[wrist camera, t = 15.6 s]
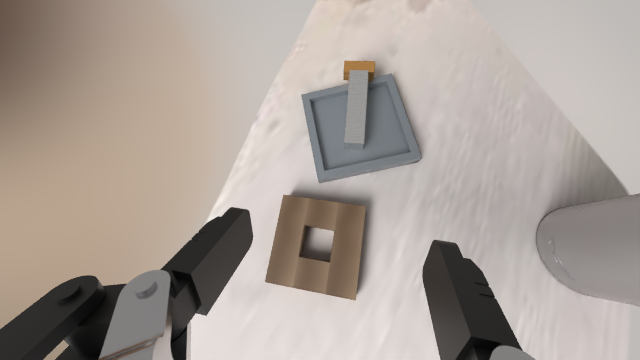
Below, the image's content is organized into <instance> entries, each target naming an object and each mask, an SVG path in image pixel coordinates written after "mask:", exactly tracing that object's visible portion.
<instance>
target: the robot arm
mask: <svg viewBox="0 0 640 360" xmlns="http://www.w3.org/2000/svg"><path fill="white" fill-rule="evenodd" d="M252 240H253V232H252V225H251V219H250V213H249V211H248V210H247V209H240V208H234V207H231V208H229V209H228V210H227V211H226V212H225V214H224V215H223V216H222V217H219V216H218V217H216V218H215V219H213V220H211V221H209V222H208V223H206V224H205V225H204V226H203V227H202V229H200V230H199V233H197V234H196V235H195V236H194V237H193V238H192V240H190V241H189V242H188V243H187V244H186V245H185V246H184V247H183V248H182V249H181V250H180V251H179V252H178V253H177V254H176V255H175V256H174V257H173V258H172V259H171V260H170V261H169V262H168V263H167V264H166V265H165V266H164V267H163V268H162V269H160V270H153V271H149V272H146V273H143V274H141V275H139V276H137V277H136V278H134V279H133V280H131V281H130V282H129V283H128V284H118V285H108V286H102V285H101V283H100V282H99V280H98V279H97V278H96V277H95V276H80V277H77V278H74V279H71V280H68V281H67V282H64V283H62V284H60V285H59V286H57V287H55V288H54V289H52V290H51V291H50V292H48V293H47V294H46V295H45V296H43V297H42V298H40V299H39V300H38V301H37V302H35V303H34V304H33V305H32V306H30V307H29V308H27V309H26V310H25V311H24V312H22V313H21V314H20V315H19V316H17V317H16V318H15V319H13V320H12V321H11V322H9V323H8V324H7V325H5V326H4V327H3V328H1V329H0V360H43V359H44V358H45V357H46V356H47V355H48V354H49V353H50V352H51V351H52V350H53V349H54V348H55V347H56V346H57V345H58V344H60V343H61V342H62V341H63V340H65V341H66V343H67V344H69V346H68V347H67V348H66V349H65V350H64V351H63V352H62V353H61V354H60V355H59V356H58V357H57V358H56V359H55V360H190V353H191V322H190V320H191V319H192V318H193V316H194V315H195V313H198V314H202V315H206V316H207V314H208V312H209V311H210V309H211V308H212V306H213V305H214V303H215V301H216V300H217V298H218V297H219V295H220V294H221V292H222V291H223V289H224V287H225V286H226V284H227V283H228V281H229V280H230V278H231V277H232V275H233V273H234V272H235V270H236V269H237V267H238V266H239V264H240V263H241V261H242V259H243V258H244V256H245V255H246V253H247V252H248V250H249V248H250V247H251V244H252ZM536 240H537V248H538V251H539V254H540V257H541V259H542V261H543V262H544V264H545V266H546V267H547V269H548V270H549V271H550V272H551V273H552V275H553V276H554V277H555V278H557V279H558V280H559V281H560V282H561V283H562V284H564V285H566V286H567V287H569V288H570V289H572V290H574V291H576V292H579V293H581V294H584V295H588V296H592V297H597V298H602V299H607V300H612V301H617V302H622V303H627V304H632V305H636V306H640V194H635V195H630V196H625V197H619V198H614V199H608V200H603V201H597V202H591V203H586V204H581V205H576V206H571V207H565V208H560V209H557V210H555V211H553V212H551V213H549V214H548V215H547V216H546V217H545V218H544V219H543V220H542V222H541V223H540V225H539V228H538V230H537V238H536ZM423 283H424V288H425V292H426V297H427V301H428V306H429V310H430V314H431V319H432V323H433V328H434V332H435V337H436V341H437V346H438V350H439V355H440V359H441V360H535V359H534V358H533V357H531V356H530V355H528V354H527V353H525V352H523V350H522V348H521V347H520V345H519V343H518V341H517V339H516V337H515V335H514V333H513V331H512V329H511V327H510V325H509V323H508V321H507V319H506V317H505V316H504V314H503V312H502V310H501V308H500V306H499V304H498V302H497V300H496V299H495V298H494V297H495V296H494V294H493V292H492V290H491V288H490V287H489V284H488V282H487V280H486V278H485V276H484V274H483V272H482V271H481V270H480V269H479V268H478V267H477V266H476V265H475V263H474V262H473V261H472V260H471V259H467V258H463V256H462V254H461V252H460V249H459V247H458V245H457V244H456V243H452V242H446V241H440V240H434V241H433V242H432V244H431V247H430V250H429V252H428V255H427V258H426V260H425V263H424V266H423Z"/></svg>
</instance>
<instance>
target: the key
mask: <svg viewBox="0 0 640 360" xmlns="http://www.w3.org/2000/svg"><path fill="white" fill-rule="evenodd" d="M374 71H375V61H345V62H344V80H349V88H348V101H347V114H346V126H345V139H344V149H353V150H362V149H363V146H364V137H365V120H366V104H367V87H368V81H373V76H374Z"/></svg>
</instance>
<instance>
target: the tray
mask: <svg viewBox="0 0 640 360" xmlns="http://www.w3.org/2000/svg"><path fill="white" fill-rule="evenodd" d="M348 88H349V84H346V85H342V86H337V87H333V88H329V89H325V90H320V91H316V92H312V93H308V94H303V95H302V100H303V105H304V110H305V116H306V121H307V126H308V131H309V136H310V141H311V146H312V151H313V157H314V162H315V167H316V172H317V177H318V181H319V183H322V182H327V181H332V180H337V179H341V178H346V177H351V176H355V175H360V174H365V173H369V172H374V171H379V170H383V169H388V168H393V167H397V166H402V165H407V164H411V163H416V162H418V161H419V160H420V159H421V158H422V157H421V154H420V152H419V149H418V146H417V143H416V140H415V138H414V135H413V132H412V129H411V126H410V124H409V121H408V118H407V115H406V112H405V109H404V107H403V104H402V101H401V98H400V95H399V93H398V90H397V87H396V84H395V81H394V79H393V76H392V74H388V75H384V76H380V77H376V78H373V81H368V87H367V104H366V120H365V137H364V146H363V149H362V150H353V149H344V139H345V126H346V114H347V101H348Z"/></svg>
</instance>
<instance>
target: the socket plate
mask: <svg viewBox="0 0 640 360" xmlns="http://www.w3.org/2000/svg"><path fill="white" fill-rule="evenodd" d="M365 210H366V206H361V205H354V204H347V203H340V202H333V201H325V200H318V199H311V198H304V197H297V196H289V195H283V199H282V204H281V209H280V214H279V218H278V223H277V228H276V232H275V237H274V242H273V247H272V251H271V256H270V261H269V266H268V270H267V275H266V280H265V282H268V283H273V284H277V285H282V286H287V287H292V288H297V289H302V290H307V291H312V292H317V293H322V294H327V295H332V296H337V297H341V298H346V299H351V300H356V293H357V284H358V275H359V265H360V256H361V247H362V238H363V228H364V219H365ZM307 226H308V227H314V228H320V229H327V230H333V231H334V238H333V245H332V252H331V259H330V261H325V260H319V259H314V258H308V257H303V256H302V252H303V246H304V240H305V235H306V229H307Z"/></svg>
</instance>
